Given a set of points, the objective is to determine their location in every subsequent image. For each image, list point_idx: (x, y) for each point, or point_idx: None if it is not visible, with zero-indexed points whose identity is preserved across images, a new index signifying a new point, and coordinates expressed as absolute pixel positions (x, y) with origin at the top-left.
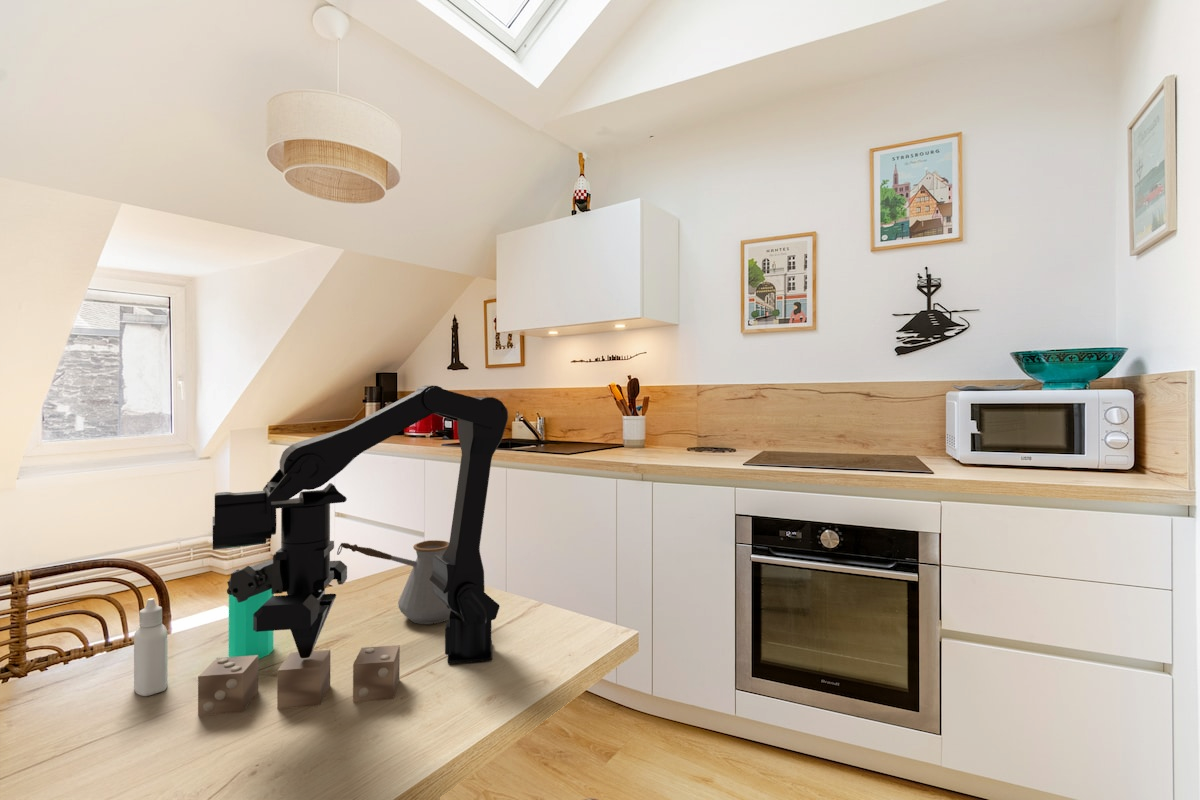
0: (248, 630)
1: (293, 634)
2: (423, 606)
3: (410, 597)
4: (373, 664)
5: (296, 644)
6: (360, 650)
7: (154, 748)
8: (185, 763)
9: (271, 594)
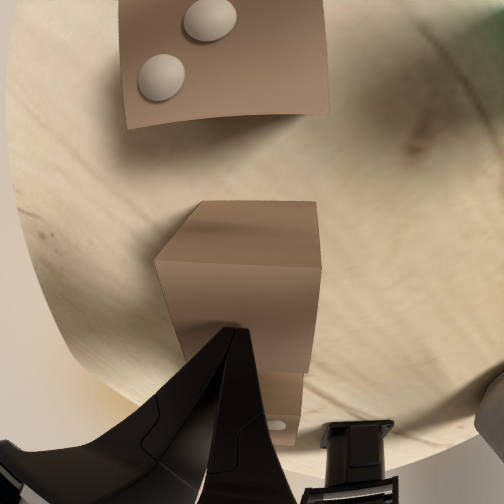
0: None
1: (144, 406)
2: (494, 412)
3: None
4: None
5: (181, 368)
6: (282, 415)
7: (73, 23)
8: (38, 118)
9: None
